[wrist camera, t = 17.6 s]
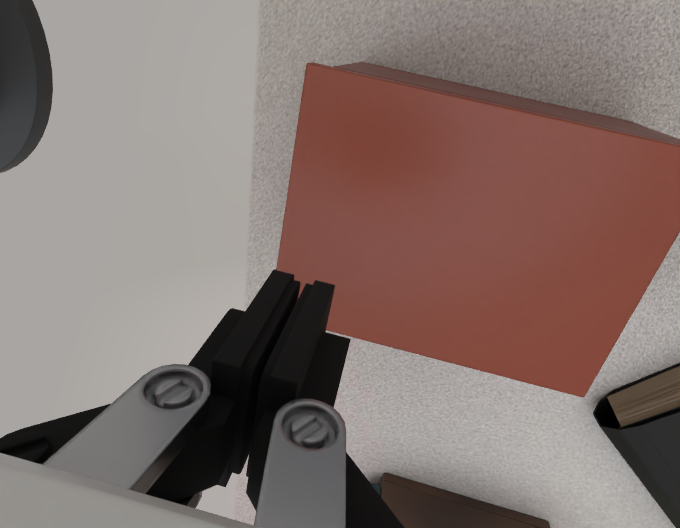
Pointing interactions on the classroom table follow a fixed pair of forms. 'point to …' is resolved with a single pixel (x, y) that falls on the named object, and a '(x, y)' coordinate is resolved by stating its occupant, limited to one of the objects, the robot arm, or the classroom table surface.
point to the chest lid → (475, 225)
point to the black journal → (648, 433)
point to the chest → (506, 100)
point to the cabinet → (446, 508)
